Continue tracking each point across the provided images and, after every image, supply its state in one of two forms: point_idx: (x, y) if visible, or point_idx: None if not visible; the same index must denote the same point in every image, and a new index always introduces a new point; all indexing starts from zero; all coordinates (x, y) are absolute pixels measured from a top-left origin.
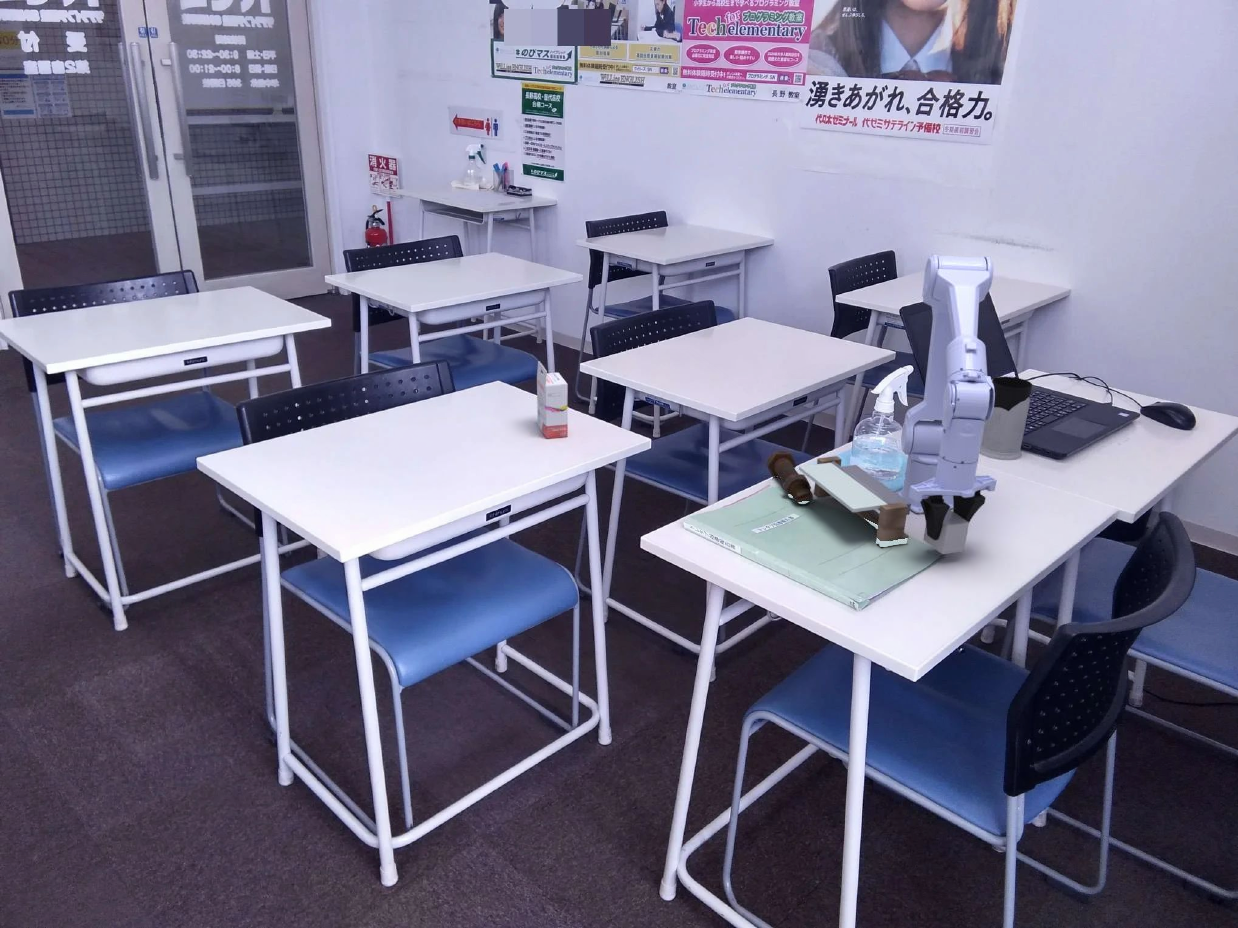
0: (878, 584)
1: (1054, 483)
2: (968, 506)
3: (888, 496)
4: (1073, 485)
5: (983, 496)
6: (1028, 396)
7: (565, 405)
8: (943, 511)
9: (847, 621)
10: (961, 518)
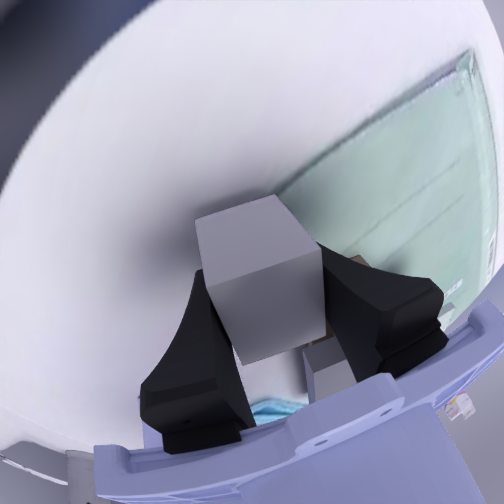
0: (429, 111)
1: (24, 422)
2: (221, 363)
3: (340, 383)
4: (7, 416)
5: (150, 422)
6: None
7: (455, 399)
8: (387, 289)
9: (484, 34)
10: (226, 315)
